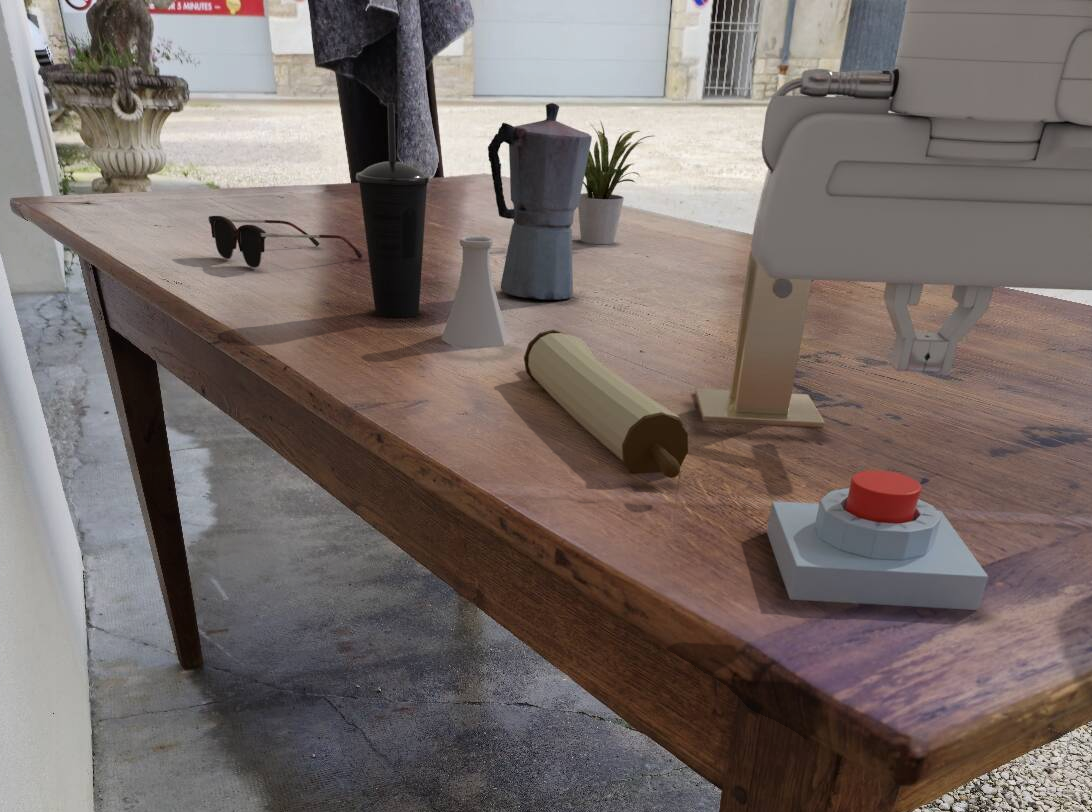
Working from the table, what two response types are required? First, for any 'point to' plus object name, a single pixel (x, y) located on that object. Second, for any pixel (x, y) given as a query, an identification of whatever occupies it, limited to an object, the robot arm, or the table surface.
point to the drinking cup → (394, 230)
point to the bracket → (765, 357)
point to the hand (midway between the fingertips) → (919, 369)
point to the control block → (872, 557)
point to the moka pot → (540, 203)
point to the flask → (475, 301)
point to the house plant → (603, 191)
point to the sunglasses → (253, 238)
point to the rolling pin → (608, 405)
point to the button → (883, 497)
